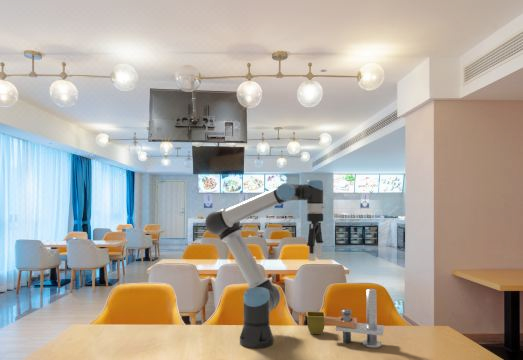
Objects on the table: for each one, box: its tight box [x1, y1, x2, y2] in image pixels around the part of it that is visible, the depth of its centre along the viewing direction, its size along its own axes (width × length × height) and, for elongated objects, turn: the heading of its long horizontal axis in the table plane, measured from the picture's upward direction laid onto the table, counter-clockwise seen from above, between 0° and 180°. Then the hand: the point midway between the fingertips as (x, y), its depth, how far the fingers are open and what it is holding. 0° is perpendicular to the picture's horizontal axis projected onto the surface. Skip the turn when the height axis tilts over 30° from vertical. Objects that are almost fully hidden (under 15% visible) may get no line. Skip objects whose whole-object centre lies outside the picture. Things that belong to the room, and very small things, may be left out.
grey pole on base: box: [324, 288, 385, 349], centre depth 188 cm, size 26×10×24 cm, turn 70°
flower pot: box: [306, 311, 326, 335], centre depth 201 cm, size 9×9×9 cm
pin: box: [340, 308, 352, 344], centre depth 188 cm, size 5×5×14 cm
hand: (315, 258), depth 194 cm, fingers open, 13 cm apart
